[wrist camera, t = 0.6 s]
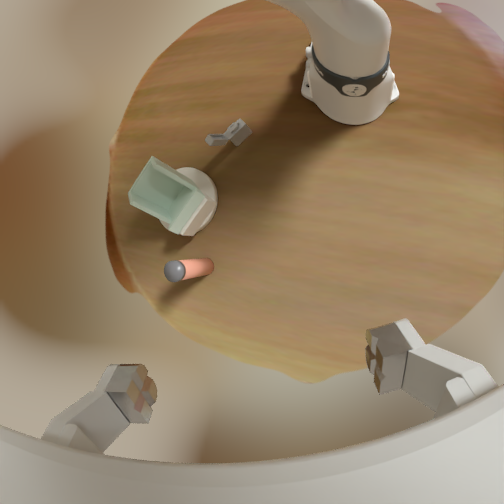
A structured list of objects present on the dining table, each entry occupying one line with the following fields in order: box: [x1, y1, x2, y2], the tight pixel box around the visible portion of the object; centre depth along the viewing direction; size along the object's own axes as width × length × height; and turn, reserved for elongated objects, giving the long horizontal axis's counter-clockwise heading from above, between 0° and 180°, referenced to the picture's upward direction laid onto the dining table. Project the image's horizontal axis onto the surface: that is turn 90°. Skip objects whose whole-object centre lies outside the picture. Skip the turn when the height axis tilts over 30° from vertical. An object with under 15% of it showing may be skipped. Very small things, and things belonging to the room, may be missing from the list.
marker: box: [164, 258, 214, 282], centre depth 50 cm, size 3×3×12 cm
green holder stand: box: [128, 156, 218, 236], centre depth 51 cm, size 13×13×12 cm
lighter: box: [205, 119, 252, 146], centre depth 50 cm, size 7×2×8 cm, turn 132°
